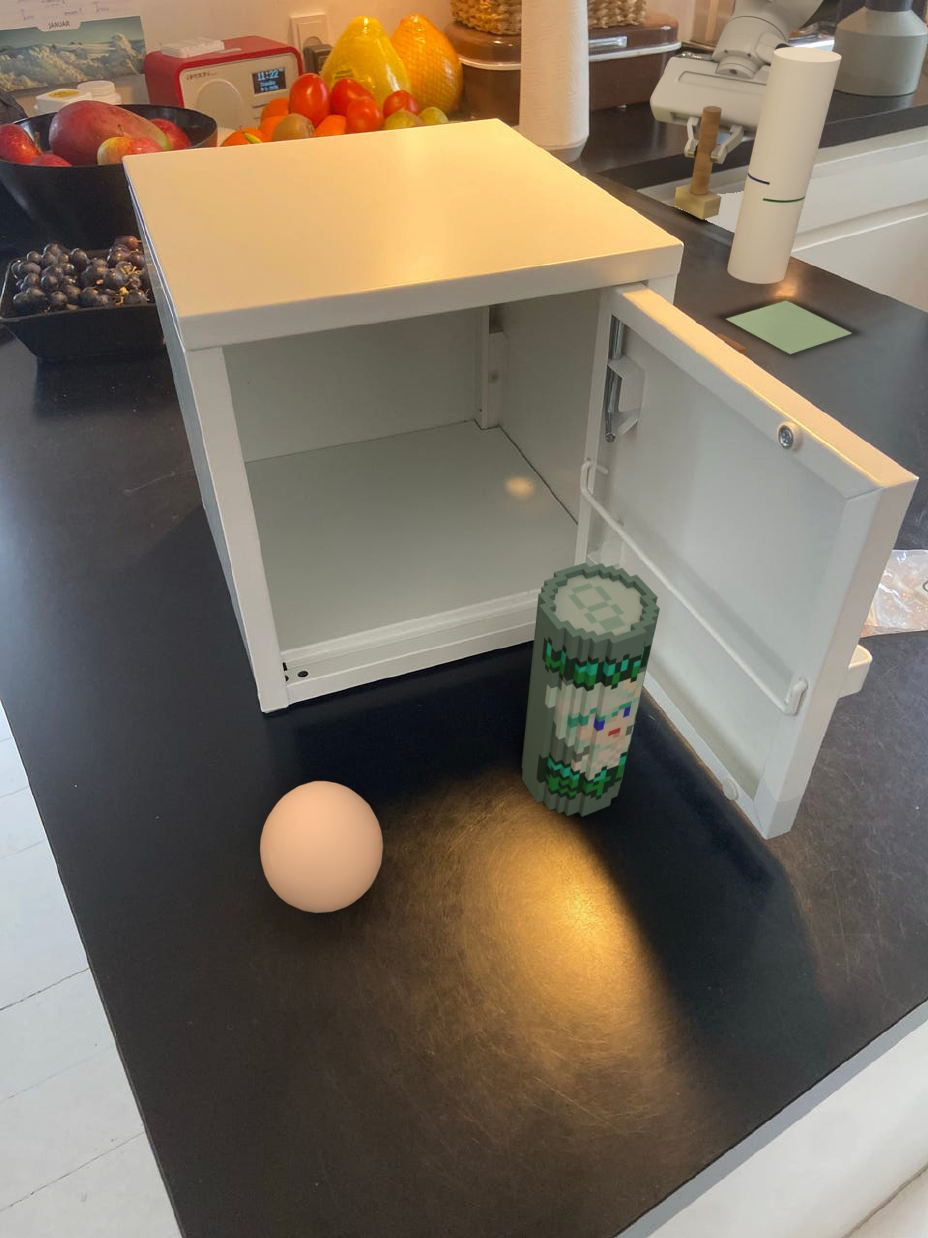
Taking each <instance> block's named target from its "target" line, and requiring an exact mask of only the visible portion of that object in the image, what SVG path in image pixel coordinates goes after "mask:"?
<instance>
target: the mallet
mask: <svg viewBox="0 0 928 1238" xmlns="http://www.w3.org/2000/svg"><path fill="white" fill-rule="evenodd" d="M721 113H722V109H721V108H720V107H717V106H707V107H704V108H703V113H702V119H701V126H700V132H699V134H698V138H697V140H698V144H697V151H696V157H695V158H694V164H693V169H692V176H691V182H690V183H687V184H684V185H679V186H676V187H675V194H674V201H673V206H674V207H676V208H679V209H680V210H682V211H684V212H686V213H688V214H690V215H692V216H694V217H696V218H697V219H700V220H706V219H709V218H713V217H716V216H718V215H719V213H720V208H721V202H722V196H721V195H719V194H717V193H716V192H715V193H714V192H713V191H711V190H709V187H710V181H711V174H712V171H713V163H714V162H711V160H712V159H711V153H712V151H713V150H714V146H715V144H717V141H718V134H719V132H718V130H719V124H720V118H721Z"/></svg>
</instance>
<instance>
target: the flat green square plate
mask: <svg viewBox="0 0 928 1238" xmlns="http://www.w3.org/2000/svg"><path fill="white" fill-rule="evenodd" d="M725 320H727V321H728V322H730V323H732V324H734V325H736V326H737V327H739V328H741V329H743V330H745V331H746V332H748V333H749V334H751V335H754V336H756V337H758V338H760V339H761V340H763V341H765V342H767V343H768V344H770V345H772V346H774V347H776V348H778V349H780V350H781V351H783V352H784V353H785V352H786V353H787V354H789V355H793V354H795V353H798V352H801V351H804V350H807V349H810V348H813V347H816V346H819V345H821V344H825V343H829V342H831V341H834V340H838V339H840V338H844V337H846V336H849V335H851V334H853V333H852V332H851V331H849V330H847V329H845V328H842V327H841V326H839V325H837V324H835V323H833V322H831V321H829V320H827V319H824V318H823V317H820V316H819V315H816V314H815V313H812V312H811V311H808V310H807V309H804V308H803V307H801V306H799V305H796V304H794V303H792V302H791V301H788V300H784V301H780V302H777V303H773V304H770V305H767V306H764V307H760V308H757V309H754V310H750V311H746V312H744V313H740V314H737V315H734V316H730V317H727V318H725Z"/></svg>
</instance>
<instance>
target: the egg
mask: <svg viewBox="0 0 928 1238" xmlns="http://www.w3.org/2000/svg"><path fill="white" fill-rule="evenodd" d="M262 827H263V828H262V832H261V836H260V842H259V843H260V845H259V852H260V862H261V866H262V870H263V874H264V876H265V878H266V880H267V882H268V884H269V886H270V888H271V889H272V890H273V891H274V892H275V894H276V895H277V896H278V897H279V898H280V899H281V900H283V901H284V902H285V903H286V904H287V905H290V906H292V907H294V908H296V909H299V910H300V911H304V912H308V913H313V914H314V913H315V914H318V913H332V912H335V911H338V910H341V909H344V908H347V907H348V906H350V905H352V904H353V903H355V902H356V901H357V900H359V899H360V898H362V896H363V895H364V894H365V893H366V892H368V890H369V889H370V888H371V887H372V885H373V884H374V882H375V880H376V878H377V875H378V873H379V870H380V869H381V866H382V860H383V851H384V843H383V841H384V840H383V834H382V829H381V826H380V822H379V820H378V818H377V817H376V815H375V813H374V811H373V809H372V807H371V805H370V804H369V803H368V802H367V801H366V800H365V799H364V798H363V797H361V795H359V794H358V793H356V792H355V791H354V790H352V789H351V788H349V787H347V786H345V785H343V784H340V783H337V782H331V781H327V780H315V781H314V780H313V781H311V782H307V783H304V784H301V785H298V786H296V787H295V788H294V789H292V790H290V791H289V792H287V793H286V794H285V795H283V796H282V797H281V798H280V800H279V801H278V802H277V803H276V804H275V805H274V807H273V808H272V810H271V812H270V813H269V814H268V816H267V818H266V820H265V822H264V825H263V826H262Z"/></svg>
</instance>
